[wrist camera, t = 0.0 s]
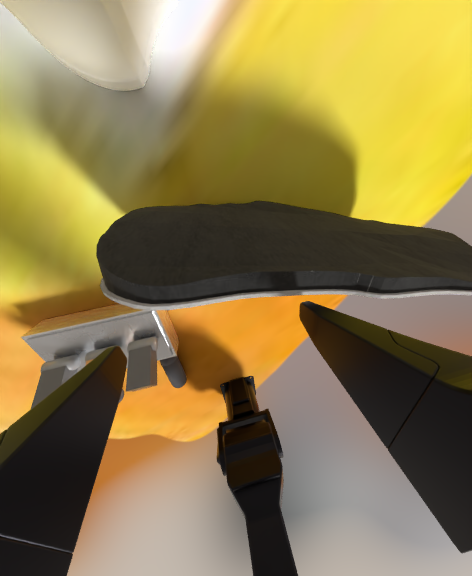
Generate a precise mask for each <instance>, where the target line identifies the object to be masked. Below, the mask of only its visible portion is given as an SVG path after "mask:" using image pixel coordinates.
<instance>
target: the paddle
mask: <svg viewBox="0 0 472 576" xmlns="http://www.w3.org/2000/svg"><path fill="white" fill-rule="evenodd" d="M80 363H81V360H80V357H79V356H78V355H72V356H68V357H64V358H59V359H55V360H51V361H47V362H45V363H44V364H43V365H42V367H41V376H40V380H39V383H38V386H37V390H36V393H35V397H34V400H33V403H32V407H31V409H32V408H33V407H35V406H36V405H37V404H38V403H40V402H41V401H42V400H43V399H45V398H46V397H47V396H48V395H50V394H51V393H52V392H53V391H55V390H56V389H57V388H58V387H60V386H61V385H62V384H63V383H65V382H66V381H67V380H68V379H70V378H71V377H72V376H73V375H75V374H76V373H77V370H78V367H79V366H80Z"/></svg>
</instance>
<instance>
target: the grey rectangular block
mask: <svg viewBox="0 0 472 576" xmlns="http://www.w3.org/2000/svg"><path fill="white" fill-rule="evenodd" d="M157 349H158V339H157V337H156V336H153V337H149V338H145V339H141V340H136V341H132V342H129V343H128V346H127V351H128V354H129V356H128V370H127V384H126V391H137V390H141V389H145V388H149V387H152V386H156V385H157Z"/></svg>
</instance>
